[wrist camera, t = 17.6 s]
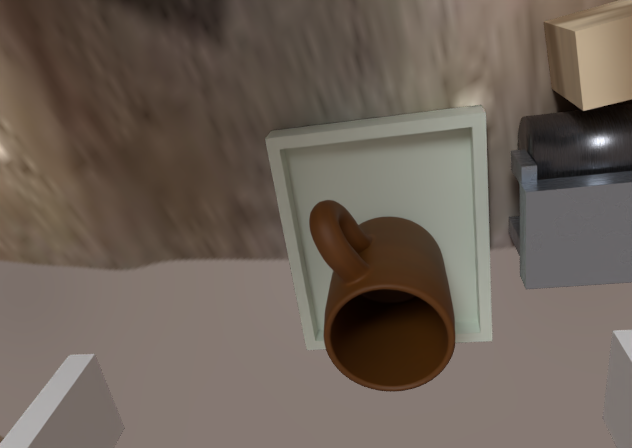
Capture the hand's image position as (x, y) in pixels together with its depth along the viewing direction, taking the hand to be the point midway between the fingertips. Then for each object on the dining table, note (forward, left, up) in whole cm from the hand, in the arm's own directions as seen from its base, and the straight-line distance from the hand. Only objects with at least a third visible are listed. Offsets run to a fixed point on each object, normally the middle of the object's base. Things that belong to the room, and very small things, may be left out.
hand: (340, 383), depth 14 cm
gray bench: (+14, -4, -24) cm, 28 cm away
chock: (+14, +4, -24) cm, 28 cm away
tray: (0, -7, -24) cm, 25 cm away
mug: (-1, -7, -24) cm, 25 cm away
